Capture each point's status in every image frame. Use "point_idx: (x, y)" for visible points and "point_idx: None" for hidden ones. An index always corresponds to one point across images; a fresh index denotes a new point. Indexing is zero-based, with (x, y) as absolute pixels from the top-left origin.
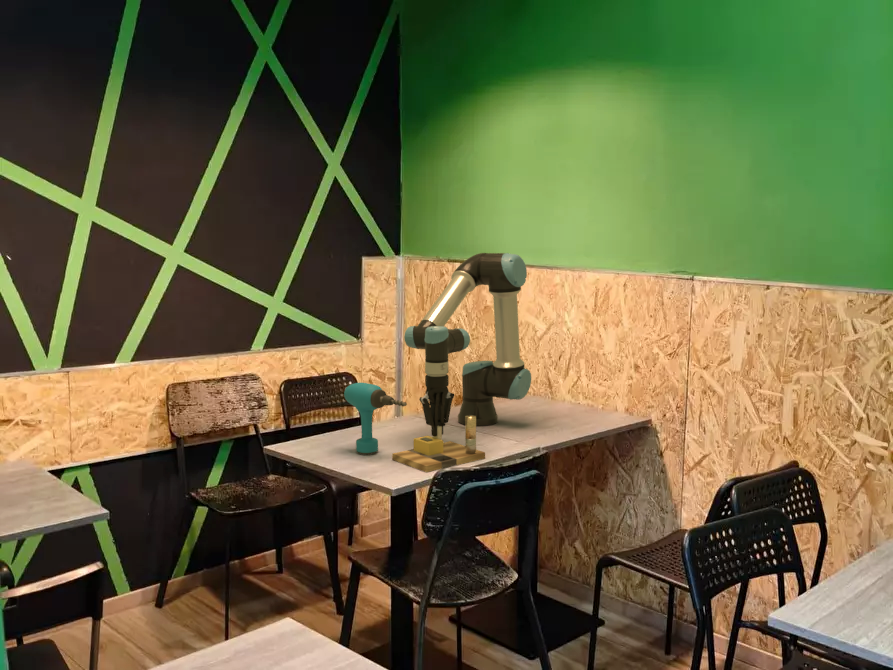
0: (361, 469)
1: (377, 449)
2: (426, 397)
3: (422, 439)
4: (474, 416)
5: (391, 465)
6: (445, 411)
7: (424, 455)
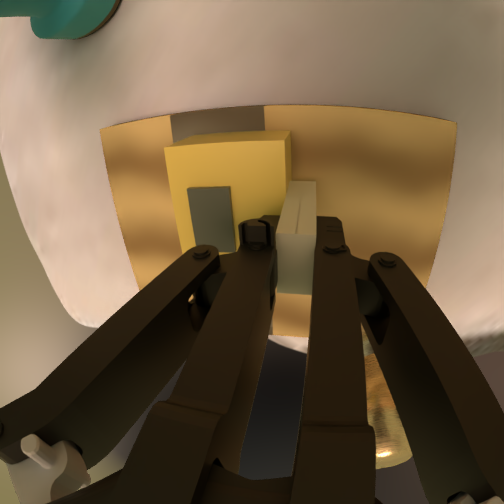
0: (30, 175)
1: (102, 16)
2: (48, 494)
3: (191, 208)
4: (394, 463)
5: (92, 187)
6: (395, 369)
7: None
